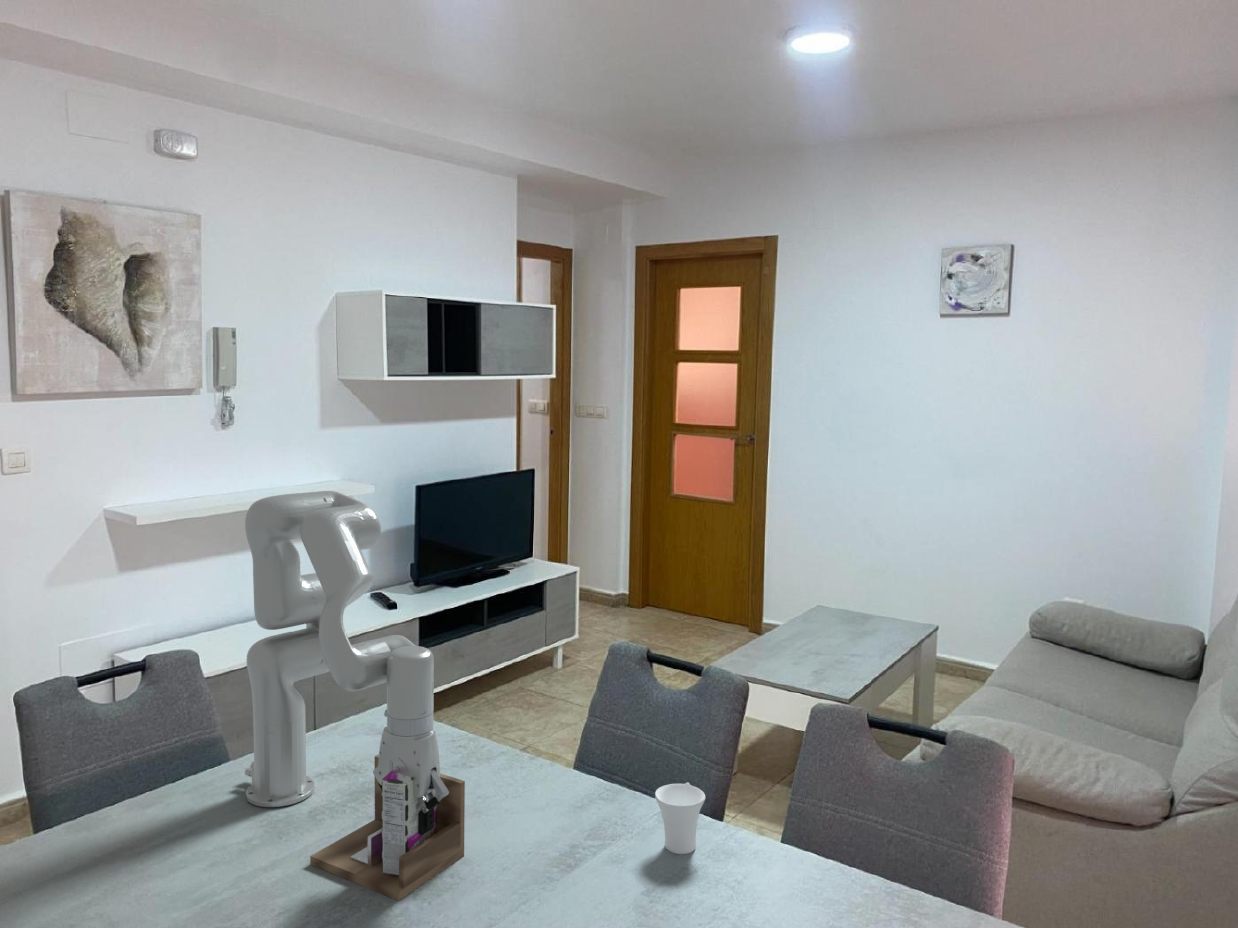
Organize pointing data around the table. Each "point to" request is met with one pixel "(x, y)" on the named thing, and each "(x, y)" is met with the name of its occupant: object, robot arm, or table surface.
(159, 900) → the table surface
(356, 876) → the shelf
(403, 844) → the candy bar box
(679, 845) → the cup
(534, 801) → the table surface
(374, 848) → the bookend
